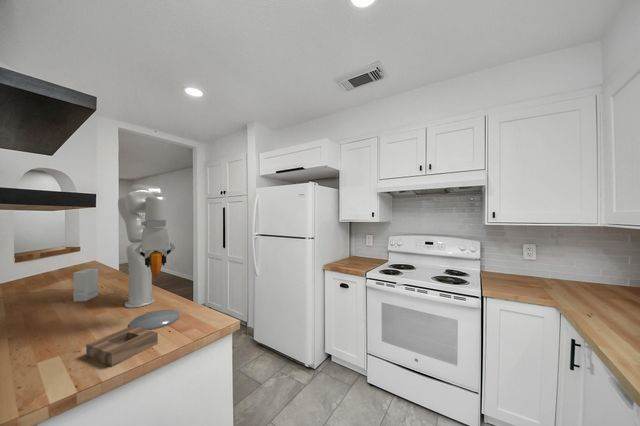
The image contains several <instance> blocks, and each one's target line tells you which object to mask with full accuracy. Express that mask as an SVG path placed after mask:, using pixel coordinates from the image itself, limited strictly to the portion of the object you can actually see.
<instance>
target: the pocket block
mask: <svg viewBox="0 0 640 426" xmlns="http://www.w3.org/2000/svg"><path fill="white" fill-rule="evenodd" d="M158 332H159V331H158ZM158 332H157V331H155V330H154V331H153V330H147V329H144V328H140V327H137V326H131V327H130V326H128V327H126V328H124V329H121V330H118V331H116V332H113V333H111V334H109V335H105V336H104V337H101V338H99V339H97V340H93V341H91V342H89V343H88V342H87V343H86V347H85V348H86V350H85V353H86V354H85V356H86V357H87V358H89V359H92V360H94V361H96V362H99V363H102V364H104V365H106V366H110V367H111V368H112V367H115V366H116V365H118V364H120V363H122V362H124V361H126V360H128V359H131V358H132V357H134V356H136V355H138V354H140V353H142V352H143V351H146V350H148V349H149V348H152V347H153V346H156V345H158V341H159V339H158V336H159V334H158Z"/></svg>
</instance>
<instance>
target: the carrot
mask: <svg viewBox="0 0 640 426" xmlns="http://www.w3.org/2000/svg"><path fill="white" fill-rule="evenodd" d="M149 265H150V269H151V272H152V276H153V277H154V278H155V279H157V278H158V276H159V274H160V272H161V270H162V266H163V265H162V252H158V251H154V252H151V253H150V254H149Z"/></svg>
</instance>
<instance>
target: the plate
mask: <svg viewBox="0 0 640 426" xmlns="http://www.w3.org/2000/svg"><path fill="white" fill-rule="evenodd" d="M180 314H181V313H180V311H178V310H176V309H159V310H154V311H150V312H147V313H144V314H141V315H138V316H137V317H134V318H133V319H132V320H131V321H130V322H129V327H131V326H137V327H140V328H144V329H147V330H151V331H153V330H156V329H160V328H164V327H167V326H169V325H171V324H173V323H175V322H176V321H177V320H179V318H180V317H181V316H180Z"/></svg>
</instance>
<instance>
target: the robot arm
mask: <svg viewBox="0 0 640 426" xmlns="http://www.w3.org/2000/svg"><path fill="white" fill-rule="evenodd" d="M117 209H118V212H119V214H120V216H121V218H122V219H123V221H124V223H125V228H126V229H125V230H126V236H127V239H128V241H129V242H130V243H131V244H129V245H128V246H127V247H126V249H125V251H126V257H127V262H128V295H126V298H128V301H126V302H125V303H124V306H125V308H132V309H134V308H140V307H145V306H148V305H152V304H153V303H155V302H156V297H153V295H152V290H153V289H152V288H153V287H152V286H153V277H152V276H153V274H152V272H151V269H150V265H149V254H150V253H151V252H154V251H158V252H162V266H164V267H165V265H166V264H167V257H168V255H169V254H170V253H171V252H173V251H174V250H175V249H176V246H175V245H174V244H172V243H171V238H170V231H169V227H168V226H167V199H166V197H164V196H163V191H162V189H161V188H160V187H159V186H158V185H148V184H134V185H131V186H130V187H129V188H128V192H127V194H126V195H123V196H120V197H119V198H118V200H117ZM139 213H142V214H144V215H145V216H144V217H143V215H141V214H139Z"/></svg>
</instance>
